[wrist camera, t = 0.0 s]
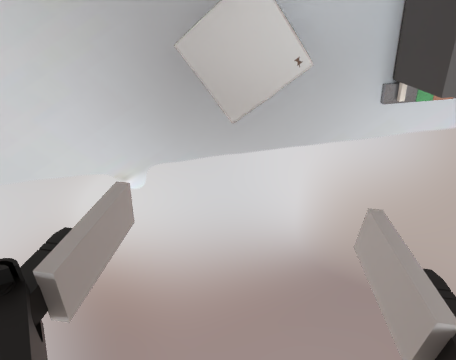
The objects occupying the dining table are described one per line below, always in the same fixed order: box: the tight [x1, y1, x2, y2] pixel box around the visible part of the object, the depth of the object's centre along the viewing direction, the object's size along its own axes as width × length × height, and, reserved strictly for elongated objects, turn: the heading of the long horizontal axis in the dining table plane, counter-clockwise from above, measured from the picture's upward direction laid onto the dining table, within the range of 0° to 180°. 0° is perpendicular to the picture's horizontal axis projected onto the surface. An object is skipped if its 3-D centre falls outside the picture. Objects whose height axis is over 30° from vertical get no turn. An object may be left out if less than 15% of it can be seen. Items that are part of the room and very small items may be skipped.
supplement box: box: [174, 0, 313, 124], centre depth 30 cm, size 9×9×15 cm
